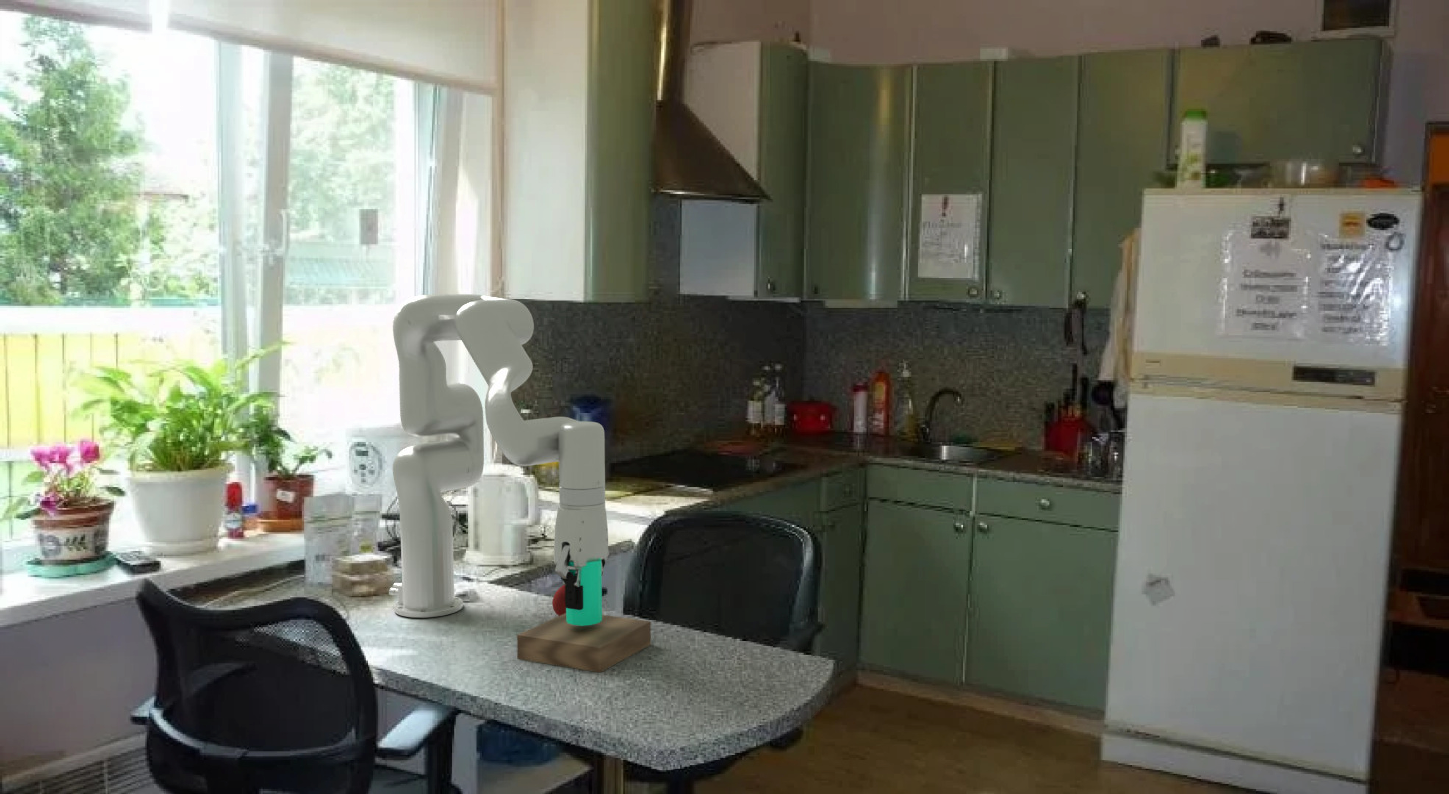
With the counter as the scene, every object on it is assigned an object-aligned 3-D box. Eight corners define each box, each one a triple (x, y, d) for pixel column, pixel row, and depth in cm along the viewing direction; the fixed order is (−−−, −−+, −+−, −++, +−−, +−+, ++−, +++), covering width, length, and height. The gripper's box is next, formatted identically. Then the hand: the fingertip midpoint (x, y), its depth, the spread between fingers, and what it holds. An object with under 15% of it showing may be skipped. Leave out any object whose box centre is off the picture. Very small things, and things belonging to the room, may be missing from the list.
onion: (588, 618, 213) (587, 576, 212) (581, 627, 208) (580, 583, 207) (557, 618, 214) (556, 575, 213) (549, 627, 208) (548, 583, 207)
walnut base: (517, 658, 190) (516, 635, 190) (571, 632, 204) (571, 610, 204) (600, 672, 183) (599, 647, 183) (650, 644, 197) (650, 621, 197)
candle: (586, 627, 189) (585, 555, 188) (558, 622, 192) (557, 551, 191) (609, 618, 194) (608, 548, 193) (581, 613, 198) (580, 544, 196)
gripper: (591, 487, 201) (592, 589, 202) (533, 503, 185) (535, 614, 187) (628, 490, 197) (629, 595, 199) (572, 507, 182) (574, 620, 184)
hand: (583, 603), depth 193 cm, fingers closed on candle, 4 cm apart
